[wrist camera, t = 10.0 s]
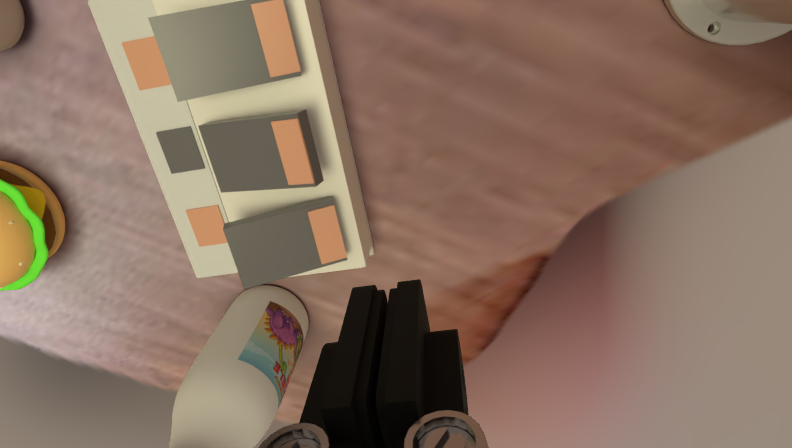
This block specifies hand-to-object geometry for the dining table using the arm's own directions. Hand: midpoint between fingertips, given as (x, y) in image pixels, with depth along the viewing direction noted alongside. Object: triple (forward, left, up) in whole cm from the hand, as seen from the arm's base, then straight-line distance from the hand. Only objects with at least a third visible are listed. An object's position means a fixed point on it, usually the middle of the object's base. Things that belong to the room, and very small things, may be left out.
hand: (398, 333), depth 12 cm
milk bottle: (+17, +18, -29) cm, 38 cm away
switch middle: (+11, 0, -22) cm, 25 cm away
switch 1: (+11, -7, -22) cm, 26 cm away
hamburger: (+38, +3, -29) cm, 48 cm away
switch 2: (+11, +7, -22) cm, 26 cm away
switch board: (+14, 0, -29) cm, 33 cm away
